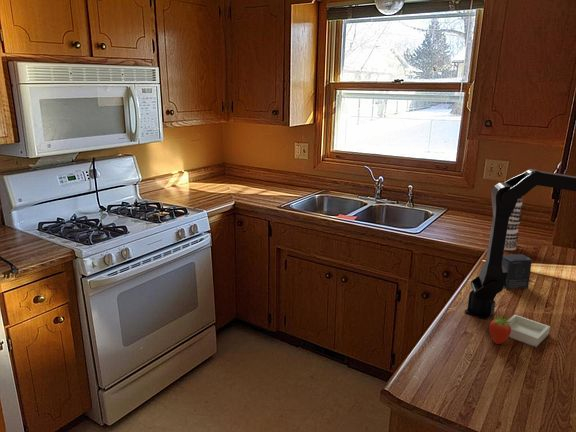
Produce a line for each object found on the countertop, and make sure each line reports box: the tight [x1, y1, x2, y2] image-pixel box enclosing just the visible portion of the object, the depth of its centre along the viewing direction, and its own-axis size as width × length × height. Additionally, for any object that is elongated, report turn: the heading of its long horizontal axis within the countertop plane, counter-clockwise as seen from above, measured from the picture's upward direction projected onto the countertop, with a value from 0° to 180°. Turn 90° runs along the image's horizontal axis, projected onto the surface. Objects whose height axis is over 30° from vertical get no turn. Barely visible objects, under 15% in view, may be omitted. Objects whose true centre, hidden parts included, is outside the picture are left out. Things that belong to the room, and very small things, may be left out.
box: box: [502, 253, 533, 290], centre depth 155 cm, size 8×6×11 cm
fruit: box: [488, 314, 511, 345], centre depth 119 cm, size 5×5×8 cm
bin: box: [506, 314, 551, 348], centre depth 125 cm, size 9×9×2 cm
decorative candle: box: [504, 196, 524, 251], centre depth 191 cm, size 9×9×25 cm
